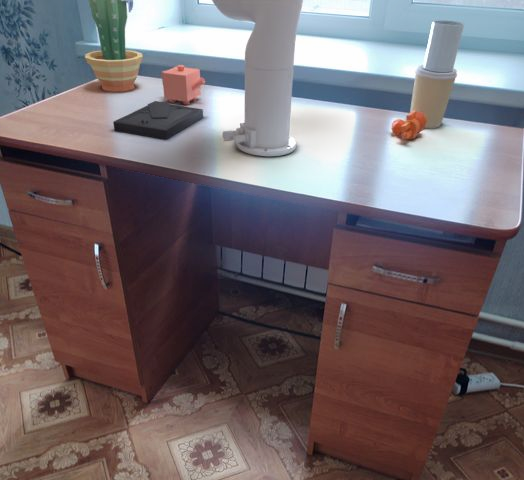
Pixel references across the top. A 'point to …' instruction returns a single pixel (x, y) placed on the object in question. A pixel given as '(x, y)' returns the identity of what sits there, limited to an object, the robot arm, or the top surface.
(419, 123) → the orange lumpy piece
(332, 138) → the top surface
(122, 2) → the potted cactus
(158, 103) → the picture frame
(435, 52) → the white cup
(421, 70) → the coffee cup
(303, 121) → the top surface
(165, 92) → the pink cube teapot
